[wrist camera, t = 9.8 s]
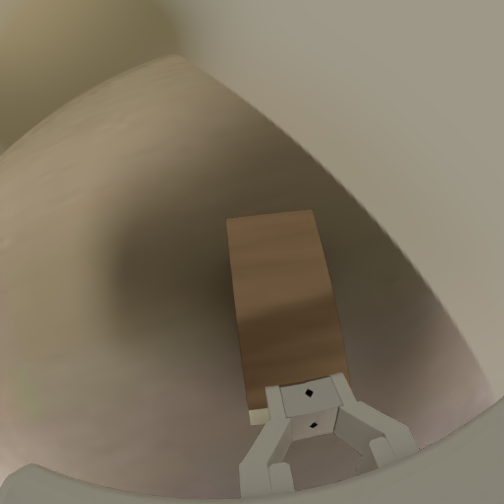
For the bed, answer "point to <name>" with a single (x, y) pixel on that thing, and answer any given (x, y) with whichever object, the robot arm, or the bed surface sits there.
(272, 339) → the walnut block
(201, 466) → the bed surface
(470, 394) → the bed surface
